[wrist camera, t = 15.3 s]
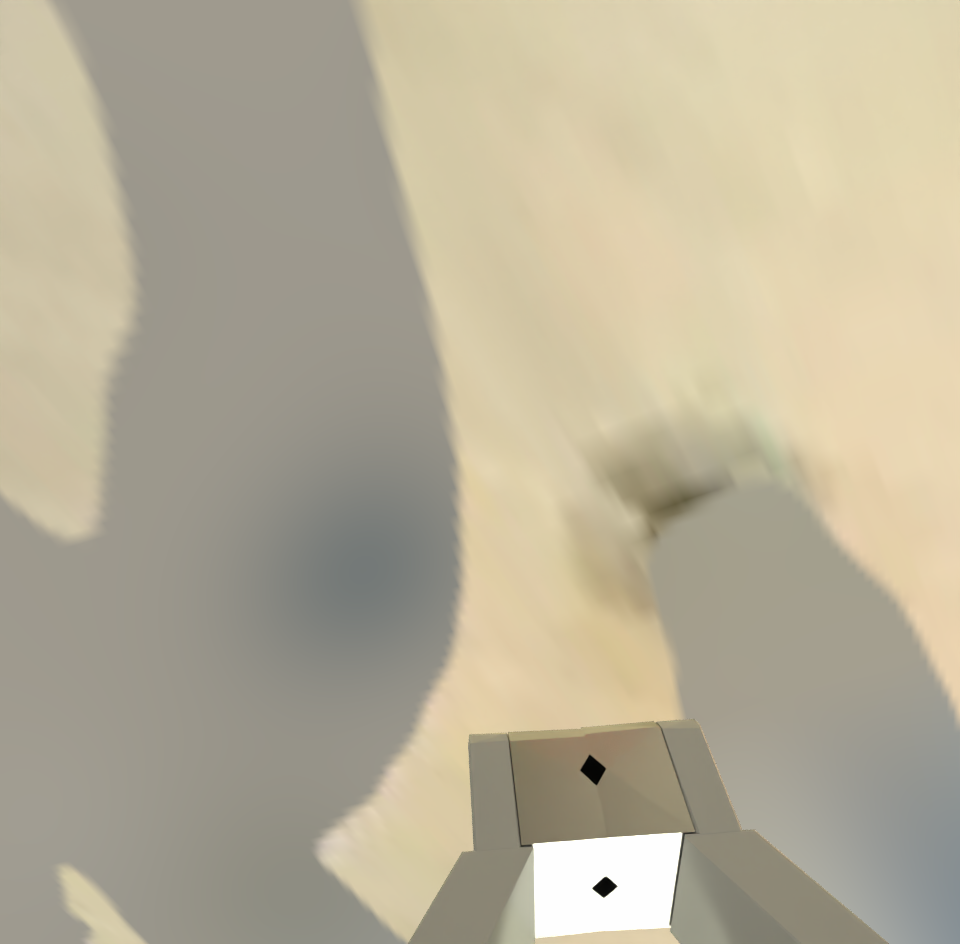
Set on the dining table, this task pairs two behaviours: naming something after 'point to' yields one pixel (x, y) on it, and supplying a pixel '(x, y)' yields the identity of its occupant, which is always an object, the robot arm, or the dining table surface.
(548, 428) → the dining table surface
